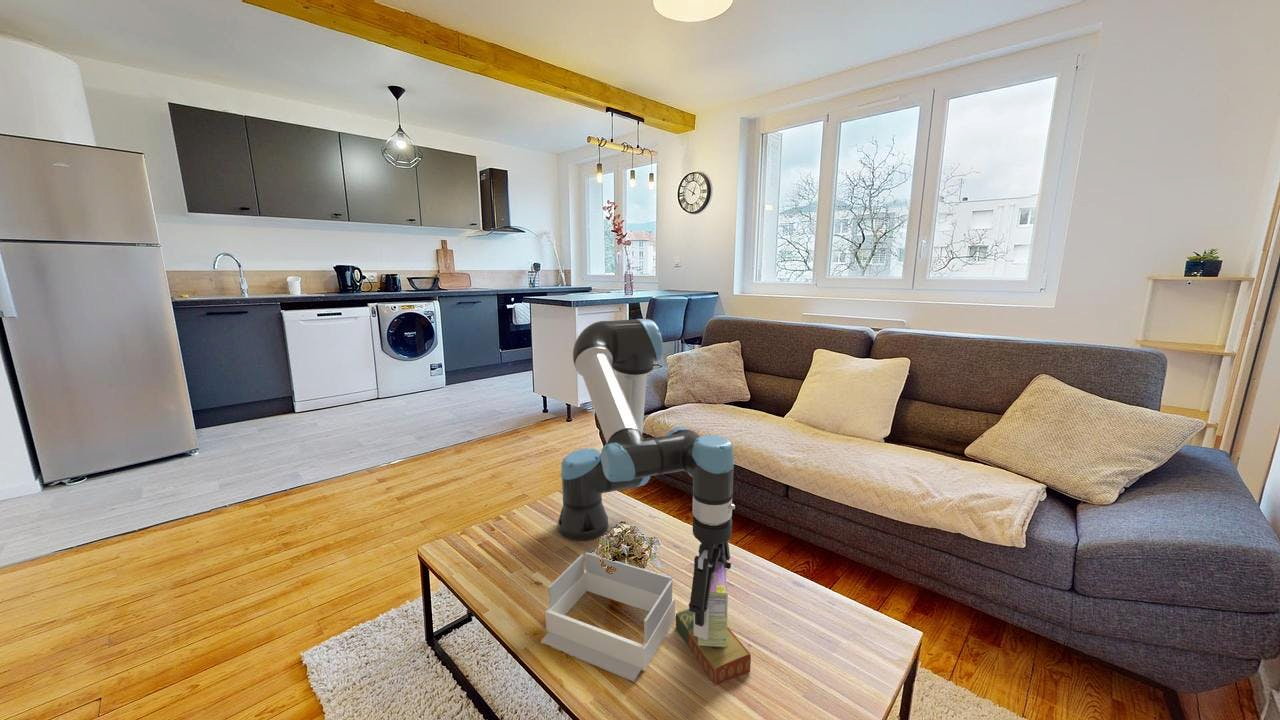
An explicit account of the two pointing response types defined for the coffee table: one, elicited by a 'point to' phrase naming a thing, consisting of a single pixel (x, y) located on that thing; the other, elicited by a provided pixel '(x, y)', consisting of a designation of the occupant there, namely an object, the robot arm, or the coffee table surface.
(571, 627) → the open crate
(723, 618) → the box
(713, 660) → the carton
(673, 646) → the coffee table surface
